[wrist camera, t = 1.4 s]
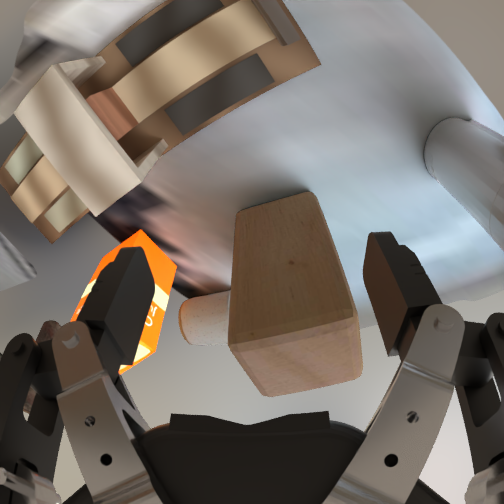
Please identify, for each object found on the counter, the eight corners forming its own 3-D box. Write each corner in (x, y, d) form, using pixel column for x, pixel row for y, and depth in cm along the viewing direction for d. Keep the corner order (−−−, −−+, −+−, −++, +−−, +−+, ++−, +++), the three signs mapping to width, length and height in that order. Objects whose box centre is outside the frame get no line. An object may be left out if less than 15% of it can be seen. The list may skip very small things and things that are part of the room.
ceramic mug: (179, 290, 46) (171, 330, 40) (230, 278, 45) (228, 320, 39) (206, 331, 52) (202, 369, 46) (252, 323, 51) (252, 362, 45)
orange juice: (101, 257, 42) (47, 370, 26) (140, 228, 39) (85, 354, 23) (137, 290, 46) (101, 405, 30) (178, 267, 43) (148, 395, 27)
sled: (253, -15, 21) (254, -30, 16) (291, 41, 24) (301, 38, 19) (10, 189, 32) (-15, 211, 28) (39, 224, 36) (18, 250, 31)
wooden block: (313, 186, 36) (360, 316, 20) (328, 250, 42) (365, 380, 26) (233, 209, 38) (221, 347, 22) (258, 269, 44) (262, 402, 28)
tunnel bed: (248, -41, 20) (247, -79, 11) (318, 63, 27) (349, 71, 18) (1, 171, 33) (-46, 211, 24) (56, 238, 40) (21, 288, 31)
